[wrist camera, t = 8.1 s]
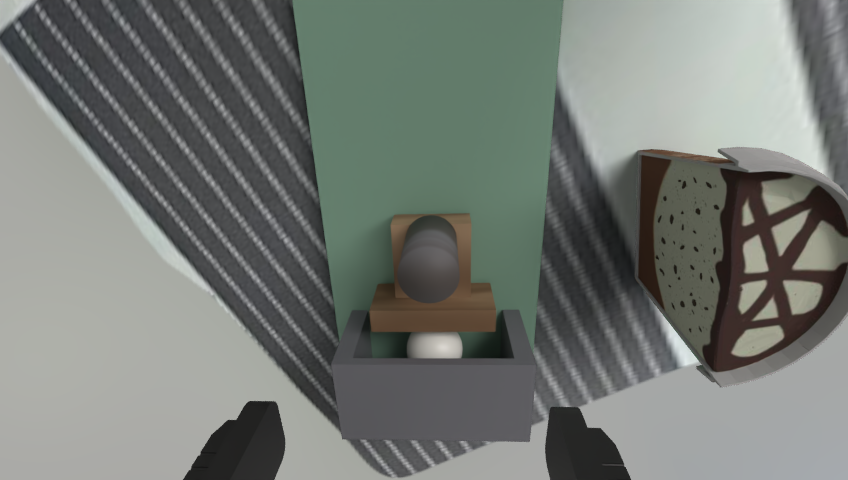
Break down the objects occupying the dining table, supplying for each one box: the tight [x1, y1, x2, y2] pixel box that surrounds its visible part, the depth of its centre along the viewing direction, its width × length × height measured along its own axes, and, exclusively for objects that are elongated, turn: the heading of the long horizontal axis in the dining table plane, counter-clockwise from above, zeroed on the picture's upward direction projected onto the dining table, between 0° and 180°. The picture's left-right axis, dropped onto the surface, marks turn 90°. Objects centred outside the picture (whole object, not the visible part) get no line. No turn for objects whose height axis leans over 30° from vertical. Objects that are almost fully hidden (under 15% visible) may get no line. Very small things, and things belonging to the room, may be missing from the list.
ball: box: [407, 332, 463, 358], centre depth 29 cm, size 4×4×4 cm
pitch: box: [292, 0, 563, 359], centre depth 27 cm, size 28×15×1 cm, turn 2°
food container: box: [635, 147, 848, 387], centre depth 23 cm, size 12×6×10 cm, turn 10°
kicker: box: [369, 213, 496, 332], centre depth 25 cm, size 7×8×7 cm
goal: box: [331, 310, 537, 442], centre depth 28 cm, size 6×12×6 cm, turn 92°
